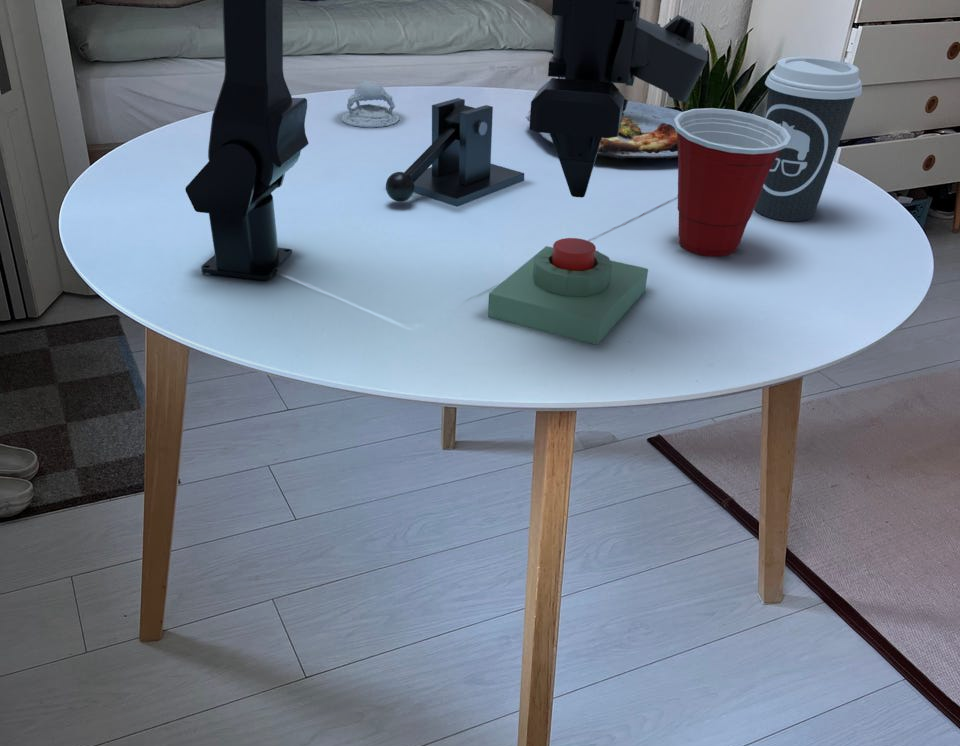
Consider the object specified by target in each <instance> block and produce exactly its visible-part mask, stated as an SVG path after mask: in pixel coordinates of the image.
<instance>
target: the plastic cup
mask: <svg viewBox="0 0 960 746" xmlns="http://www.w3.org/2000/svg"><path fill="white" fill-rule="evenodd" d="M680 112H681V113H679V114H678V115H677V116H676V118H675V119H674V125H675V128H676V131H677V143H678V159H677V211H678V231H677V232H678V239H679V245H680V247H681V248H683V249H684V250H685V251H686V252H689V253H692V254H694V255H698V256H704V257H715V258H717V257H718V258H719V257H727V256H730V255H732V254H735V252H736V251H737V248H738V247H739V245H740V243H741V241H742V238H743V236H744V233H745V230H746V228H747V225H748V222H749V221H750V219H751V217H752V215H753V213H754V211H755V209H754V207H755V205H756V203H757V200H758V198H759V195H760V193H761V190H762V188H763V185H764V183H765V180H766V178H767V175H768V173H769V170H770V169H771V167H772V165H773V163H774V161H775V159H776V158H777V156H778V154H779V153H780V151H781V150H782V149H784V148H785V147H786V145H787V143H788V142H789V140H790V138H791V137H790V135H789V133H788V132H787V130H786V129H785V128H783V127H781V126H780V125H778V124H777V123H775V122H773V121H771V120H768V119H765V117H762V116H759V115H757V114H754V113H749V112H744V111H739V110H734V109H728V108H727V109H726V108H714V107H710V108H707V107H706V108H692V109H689V110H685V111H680Z"/></svg>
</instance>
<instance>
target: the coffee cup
mask: <svg viewBox="0 0 960 746" xmlns="http://www.w3.org/2000/svg"><path fill="white" fill-rule="evenodd" d="M859 69H860V68H859V67H857V66H856V65H854V64H852V63H849V62H847V61H842V60H839V59H832V58H826V57H816V56H790V57H789V56H788V57H783V58H780V59H778V60H777V62H776V65H775V66H774V69H772V70H771V71H770V72H769V74H768V75H767V76H766V78H765V81H764V85H765V86H766V87H767V88H768V90H767V100H766V108H765V117H764V118H765V119H768V120H771V121H773V122H775V123H777V124H778V125H780V126H781V127H783V128H785V129H786V130H787V132H788V133H789V135H790V137H791V138H790V140H789V142H788V143H787V145H786V147H785V148H784V149H782V150H781V151H780V153H779V154H778V156H777V158H776V159H775V161H774V163H773V165H772V167H771V169H770V170H769V173H768V175H767V178H766V180H765V183H764V185H763V188H762V190H761V193H760V195H759V198H758V200H757V203H756V205H755V207H754V211H755V212H756V213H758V214H759V215H761V216H763V217H766V218H769V219H772V220H776V221H782V222H783V221H784V222H804V221H809V220H811V219H812V218H814V217H815V214H816V211H817V208H818V205H819V202H820V200H821V197H822V195H823V194H822V193H823V191H824V188H825V185H826V182H827V179H828V177H829V173H830V171H831V167H832V165H833V162H834V160H835V156H836V153H837V150H838V147H839V144H840V142H841V139H842V137H843V134H844V130H845V127H846V125H847V122H848V119H849V116H850V113H851V111H852V108H853V106H854V103H855V100H856V98H857V97H859V96H861V95H862V93H863V85H862V80H861V79H860V78H859V76H860V70H859Z"/></svg>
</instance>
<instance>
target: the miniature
mask: <svg viewBox="0 0 960 746" xmlns="http://www.w3.org/2000/svg"><path fill="white" fill-rule="evenodd" d="M366 101H383V102H386V103H387V105H388V106H389V107H387V106H385V105H384V106H382V105H381V104H370V103H369V104H360V102H366ZM354 103H355V104H356V106H355V107H353V106H354ZM352 107H353V108H352ZM395 107H396V105H395V102H394V100H393V96H392V95H390V94H389V93H388V92H387V91H386V90H385V89H384V87H383V85H381V84H380V83H378V82H377V81H370V80H364V81H361V82H360V83H359V84H357V86H356V87H355V89H354V93H353V94H351V95H350V97H348V98H347V103H346V109H347V110H348V112H346V113H344V114H343V115H342V116H341V121H342V122H343V124H346V125H348V126H352V127H357V128H358V127H360V128H385V127H389V126H393V125H396V124H397V123H398V122H399V121H400V117H399V115H398V114H396V113H395V112H394V111H393V110H394V109H395Z"/></svg>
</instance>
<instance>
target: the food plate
mask: <svg viewBox="0 0 960 746" xmlns="http://www.w3.org/2000/svg"><path fill="white" fill-rule="evenodd" d="M530 111H531V109H530V110H529V111H528V113H527V115H526V116H525V119H526V121H528V122H529V123H530ZM681 112H682V111H680V110H678V109H674V108H669V107H665V106H659V105H654V104H648V103H645V102H639V101H632V100H628V103H627V106H626V109H625V111H624V112H623V113H624V116H623V119H622V122H621V126H620V130H619V133H618V136H617V137H613V138H602V139H601V143H600V146H599V150H598V153H597V156H599V157H600V156H603V157H610V158H614V159H615V158H616V159H618V160H620V159H630V158H631V159H635V158H636V159H640V158H641V159H646V160H648V159H659V158H660V159H661V158H662V159H668V160H671V159H676V158H678V143H677V131H676V128H675V125H674V119H675V118H676V116H677V115H678V114H679V113H681ZM538 134H539V135H541V136H542V137H543V138H544V140H546V141H548V142H549V143H551V144H553V141H552V139H551V136H550V133H540V132H538Z"/></svg>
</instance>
